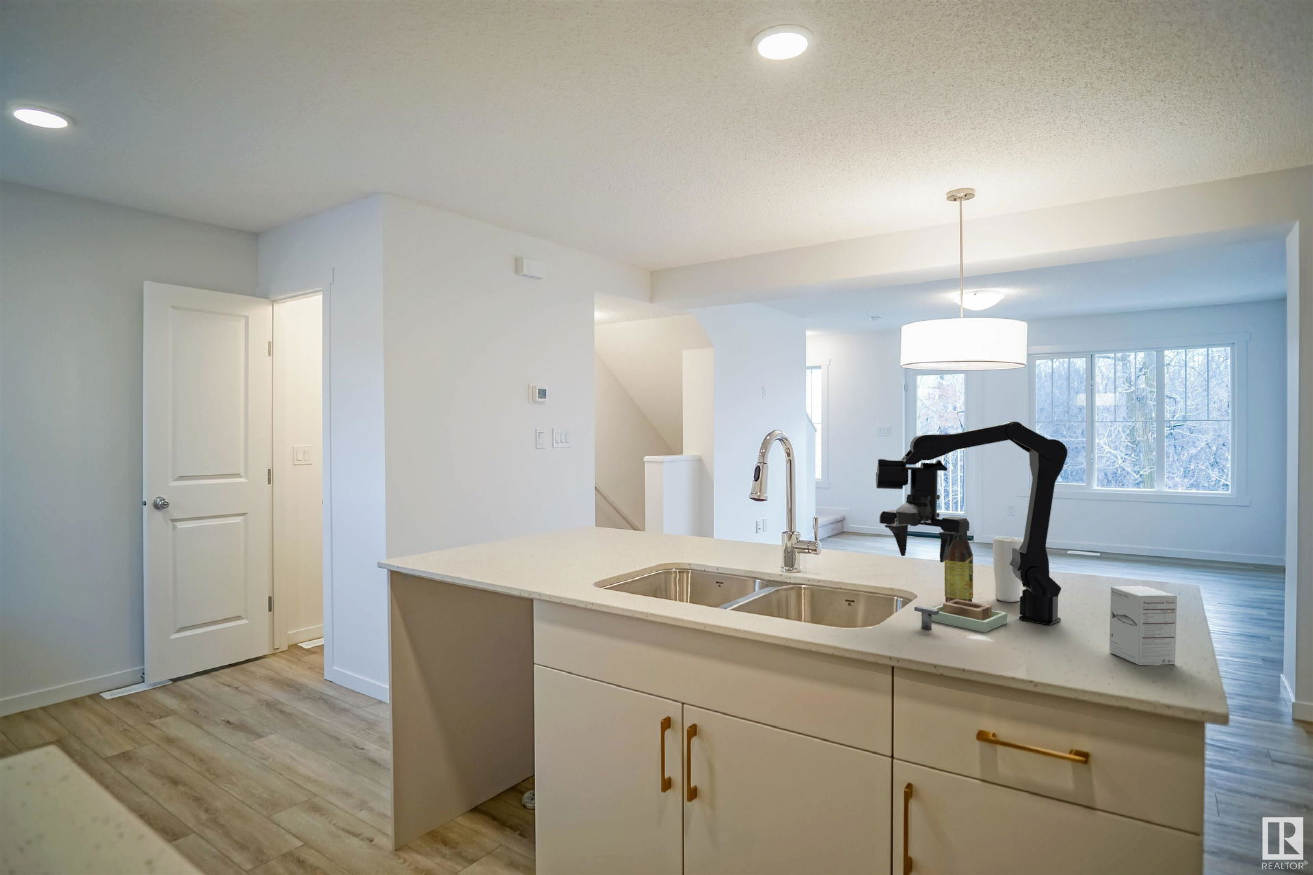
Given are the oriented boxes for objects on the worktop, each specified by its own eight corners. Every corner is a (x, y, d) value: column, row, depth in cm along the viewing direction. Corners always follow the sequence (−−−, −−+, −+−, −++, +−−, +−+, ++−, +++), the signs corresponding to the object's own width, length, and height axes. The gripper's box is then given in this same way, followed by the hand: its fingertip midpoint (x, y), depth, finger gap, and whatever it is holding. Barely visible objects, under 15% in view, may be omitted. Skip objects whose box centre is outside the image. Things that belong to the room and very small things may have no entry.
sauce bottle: (975, 608, 162) (977, 522, 161) (947, 606, 163) (948, 522, 163) (969, 601, 168) (970, 519, 168) (941, 599, 169) (942, 518, 169)
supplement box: (1107, 652, 130) (1108, 585, 130) (1144, 651, 131) (1145, 585, 131) (1138, 666, 123) (1139, 595, 123) (1177, 665, 124) (1178, 594, 123)
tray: (1007, 622, 150) (1007, 612, 150) (984, 632, 143) (985, 622, 143) (950, 610, 159) (950, 601, 159) (927, 619, 152) (927, 609, 152)
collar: (942, 617, 152) (943, 603, 152) (956, 612, 156) (956, 598, 156) (978, 624, 146) (979, 610, 146) (991, 619, 150) (991, 605, 150)
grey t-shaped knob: (939, 630, 144) (939, 609, 144) (934, 631, 143) (934, 611, 143) (918, 625, 148) (918, 605, 148) (913, 626, 146) (913, 607, 146)
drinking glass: (993, 601, 168) (993, 539, 168) (991, 595, 174) (991, 535, 174) (1024, 604, 165) (1025, 541, 165) (1021, 598, 172) (1022, 537, 171)
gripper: (867, 488, 159) (866, 556, 159) (947, 495, 145) (946, 570, 145) (892, 486, 166) (891, 551, 166) (971, 492, 152) (969, 563, 153)
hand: (922, 559), depth 157 cm, fingers open, 9 cm apart
